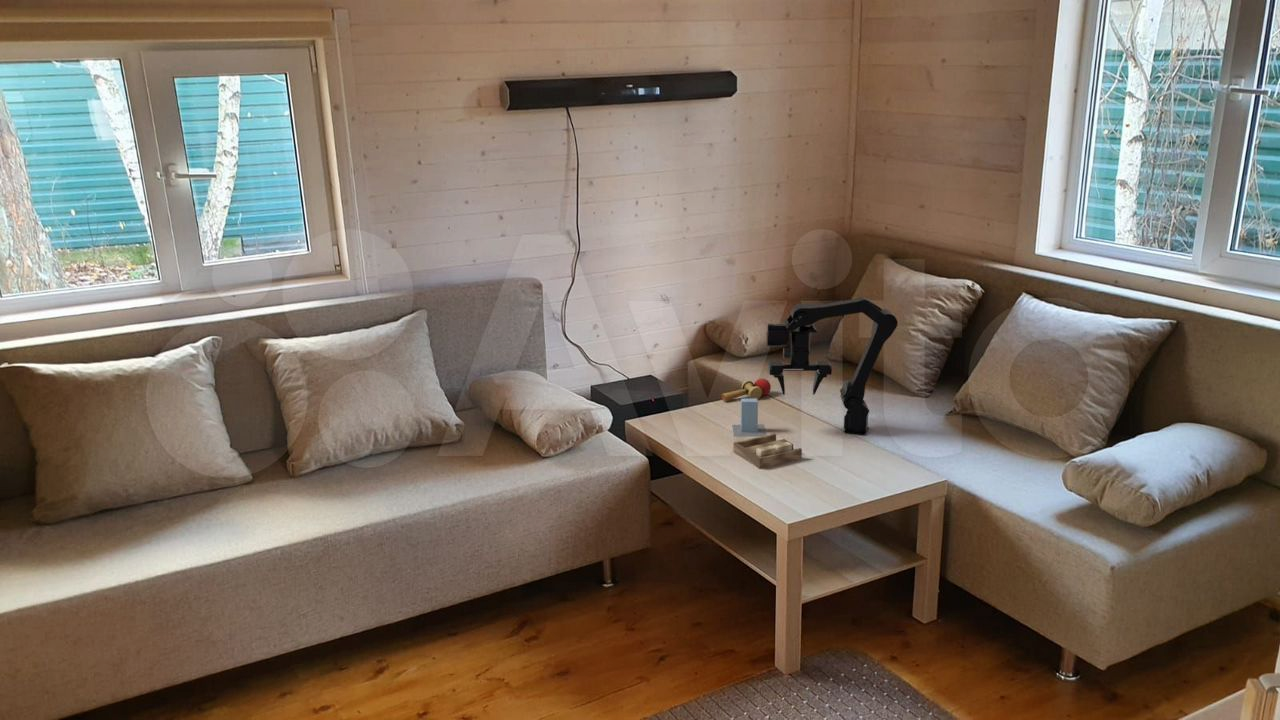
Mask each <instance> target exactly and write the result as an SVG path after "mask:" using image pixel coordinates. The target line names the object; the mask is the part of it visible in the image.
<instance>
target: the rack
mask: <svg viewBox="0 0 1280 720" xmlns="http://www.w3.org/2000/svg"><path fill="white" fill-rule="evenodd" d="M784 442H789V443H790V444H792V450H790V451H786V452H781V453H777V454H773V455H769V456H764V457H759V456H757V455H756V449H758V448H762V447H766V446H773V445H776V444H780V443H784ZM802 452H803V448H795V449H794V443H792V442H791V441H788V440H786V439H785V438H782V439H778V440H777V434H776V433H772V434H766V436H756V437H753V438H748V439H744V440H739V441H735V442H733V453H734V454H735V455H737V456H739V457H740V458H742V459H743V460H744V461H746V462H748V463H750V464H751V465H753V466H754V467H755V468H758V469H759V470H761V469H764V468H768V467H769V468H770V467H773V466H777V465H781V464H786V463H789V462H790V463H791V462H794V461H795V462H796V461H798V460H802V459H803V458H802V457H803V456H802V455H803V454H802Z"/></svg>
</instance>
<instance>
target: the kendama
mask: <svg viewBox="0 0 1280 720" xmlns="http://www.w3.org/2000/svg"><path fill="white" fill-rule="evenodd" d="M771 389H772V388H771V383H770V381H769V380H768V379H766V378H758V379H757V380H755V381H754V383H753V381H751V380H750V379H749V380H747V379H746V380H745V381H743V382H742V384H741V389H739V390H733V391H729V392H724V393H721V400H722V401H723V402H724V403H726V402H729V401H731V400H734V399H736V398H737V399H738V398H739V397H742V396H745V395H746V394H747V395H748V398H749V399H755V398H757V400H758V399H760V398H761V396H762V397H763V396H767V395H768V394H769V393H770V391H771Z"/></svg>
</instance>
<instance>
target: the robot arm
mask: <svg viewBox="0 0 1280 720" xmlns="http://www.w3.org/2000/svg"><path fill="white" fill-rule="evenodd" d="M860 313H861V314H862V313H863V314H864V315H865V316H866V317H868V318H869V319H870V320H872V321H873V322H872V326H871V327H872V328H871V332H870V333H871V335H870V337H869V340H868V341H867V345H866V346H865V350H864V351H863V354H862V356H861V358H860V361H859V363H858V365H857V367H856V369H855V371H854V374H853V376H852V377H851V379H850V380H847V379H844V380H843V384H842V387H841V389H839V392H840V400H841V402H842V403H843V406H844V408H845V409H846V413H845V415H844V417H843V429H844V431H843V432H844V433H845V434H852V435H853V434H854V435H863V436H866V434H867V432H868V430H869V414H870V413H869V412H870V409H869V407H868V405H867V403H866V401H865V400H864V397H865V393H866V392H865V391H866V385H867V382H868V380H869V378H870V375H871V373H872V371H873V368H874V366H875V365H876V362H877V360H878V358H879V356H880V353H881V351H882V349H883V347H884V344H885V343H886V341H888V340H889V338H891V337H892V335H893V334H894V332H895V331H896V329H897V328H898V325H899V324H898V323H899V322H898V319H897V317H896V316H895V314H894V313H893V312H892V311H891V310H889V309H887V308H881V307H880V306H878V305H877V304H875V303H874V302H872V301H870V300H869V299H868V298H867V297H864V296H861V297H858V298H852V299H847V300H841V301H835V302H833V301H832V302H828V303H823V304H822V303H821V304H816V303H804V302H802V303H797V304H795V305H794V306H793V307H792V308H791V311H790V315H789V316H788V317H787V318H786V319H785V321H784V322H783V323H767V328H766V332H765V334H766V335H765V336H766V337H765V339H766V340H765V341H766V342H765V344H766V345H765V346H766V347H783V348H782V349H783V350H782V359H783V360H785V359H788V364H783V362H782V361H778V360H777V361H775V360H773V361H771V360H769V362H768V365H767V371H768V373H769V375H770V376H773V377H774V378H776V379H777V380H778V383H779V385H780V388H781V392H782V395H783V396H785V393H786V392H785V391H786V388H785V378H784V374H783V373H784V372H807V371H808V372H810V371H811V372H814V380H813V385H812V386H813V387H812V395H814V396H815V395H816V393H817V390H818V388H819V386H820V384H821V383H822V381H823V379H824V378H827V377H828V376H830V375H832V371H833V370H832V369H833V368H832V365H831V363H830V362H829V361H828V360H816V362H815V364H810V354H811V351H810V348H811V333H812V334H815V333H818V329H817V328H816V327H815V326H814V325H813V324H815V323H818V322H819V321H821V320H824V319H829V318H837V317H841V316H842V317H843V316H848V315H855V314H860ZM789 343H790V347H789V348H788V347H786V345H788V344H789ZM785 347H786V348H785Z"/></svg>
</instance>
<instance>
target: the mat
mask: <svg viewBox="0 0 1280 720" xmlns="http://www.w3.org/2000/svg"><path fill="white" fill-rule="evenodd" d="M731 428H732V433H733V437H734V438H735V437H737V438H740V437H741V438H743V437H745V438H746V437H753V438H755V437H761V436H766V435H767V431H766V428H765V424H761V423H758V432H741V424H732V425H731Z"/></svg>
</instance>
